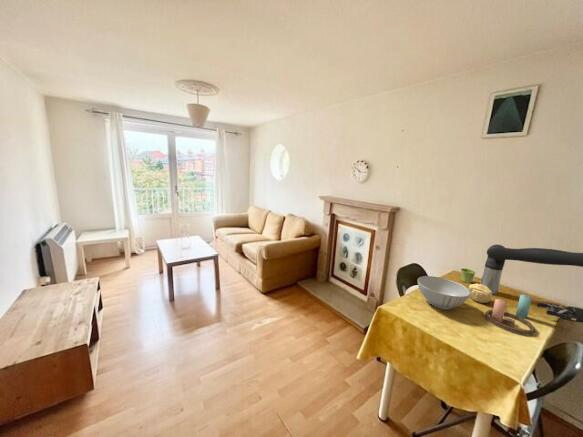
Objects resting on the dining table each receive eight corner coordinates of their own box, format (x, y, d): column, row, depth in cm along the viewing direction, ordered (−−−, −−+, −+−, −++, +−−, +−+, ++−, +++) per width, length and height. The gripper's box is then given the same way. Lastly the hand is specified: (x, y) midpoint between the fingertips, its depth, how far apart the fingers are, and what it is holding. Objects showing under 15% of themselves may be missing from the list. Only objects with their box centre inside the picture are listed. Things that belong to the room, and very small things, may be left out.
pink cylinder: (489, 320, 127) (494, 300, 125) (492, 318, 129) (496, 298, 127) (500, 325, 123) (505, 304, 121) (503, 322, 126) (507, 301, 124)
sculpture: (464, 298, 150) (467, 283, 148) (470, 294, 157) (473, 279, 155) (487, 307, 141) (490, 290, 139) (492, 301, 148) (496, 285, 146)
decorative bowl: (459, 323, 123) (463, 301, 121) (407, 301, 143) (410, 282, 141) (472, 306, 141) (475, 287, 139) (424, 289, 160) (426, 272, 158)
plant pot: (470, 280, 180) (473, 269, 178) (476, 285, 171) (478, 274, 170) (456, 278, 183) (458, 267, 181) (461, 282, 174) (463, 271, 173)
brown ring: (480, 319, 128) (480, 315, 127) (491, 309, 138) (492, 306, 138) (528, 339, 112) (529, 336, 112) (537, 327, 123) (538, 323, 123)
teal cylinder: (514, 315, 133) (519, 295, 131) (516, 313, 136) (521, 293, 134) (525, 319, 130) (530, 299, 128) (527, 317, 132) (532, 297, 130)
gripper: (572, 302, 130) (535, 296, 135) (594, 316, 116) (552, 308, 122) (569, 314, 131) (532, 307, 136) (590, 329, 118) (548, 321, 123)
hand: (541, 308), depth 129 cm, fingers open, 8 cm apart
